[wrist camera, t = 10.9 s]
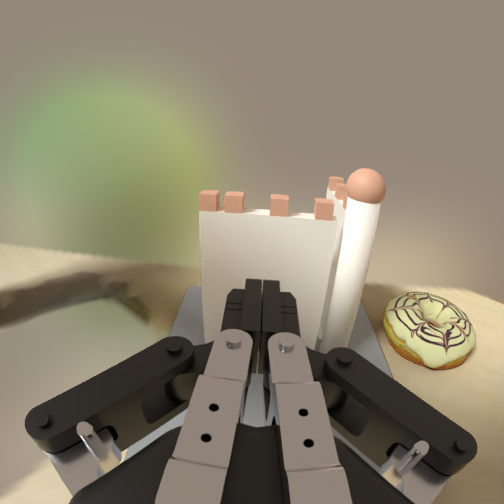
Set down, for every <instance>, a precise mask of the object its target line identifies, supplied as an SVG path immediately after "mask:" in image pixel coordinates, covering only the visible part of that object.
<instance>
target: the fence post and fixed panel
mask: <svg viewBox="0 0 504 504" xmlns="http://www.w3.org/2000/svg"><path fill="white" fill-rule="evenodd" d="M385 193H386V186H385V182H384V180H383V178H382V177H381V176H380V174H379V173H377V172H376V171H374V170H372V169H368V168H363V169H359V170H357V171H355V172H353V173H352V174H351V175H350V177H349V179H348V181H347V184H344V179H343V178H342V177H334V176H330V177H329V187H328V188H327V197H326V199H332V200H333V202H334V212H333V216H336V218H337V221H338V225H337V231H336V238H335V244H334V251H333V257H332V263H331V268H330V274H329V280H328V285H327V291H326V296H325V301H324V306H323V311H322V316H321V325H322V330H323V336H322V341H321V345H320V349H319V352H320V353H324V354H327V353H328V352H329V351H330V350H331V349H333V348H337V347H345V348H347V346H348V343H349V340H350V336H351V333H352V329H353V326H354V322H355V319H356V315H357V311H358V308H359V304H360V300H361V296H362V292H363V288H364V284H365V279H366V275H367V271H368V266H369V262H370V258H371V252H372V248H373V243H374V238H375V233H376V227H377V223H378V217H379V212H380V206H381V202H382V200H383V199H384V196H385Z"/></svg>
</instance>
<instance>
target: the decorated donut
mask: <svg viewBox="0 0 504 504" xmlns="http://www.w3.org/2000/svg"><path fill="white" fill-rule="evenodd" d="M383 324H384V330H385V333H386V336H387V339H388V341H389V343H390V344H391V346H392V347H393V348H394V349H395V351H396V352H398V353H399V354H400V355H401V356H402V357H404V358H405V359H408V360H410V361H412V362H413V363H416V364H421V365H424V366H426V367H431V368H433V369H437V370H439V369H450V368H452V367H455V366H458V365H460V364H461V363H463V362H464V360H465V359H466V358H467V356H468V354H469V352H470V350H471V349H472V348H473V347H474V345H475V343H476V335H475V332H474V329H473V326H472V324H471V323H470V321H469V319H468V317H467V315H466V314H465V313H464V312H462V311H461V310H460V309H459V308H458V307H456V306H455V305H454V304H452V303H451V302H449V301H448V300H446V299H444V298H442V297H439V296H436V295H432V294H429V293H425V292H406V293H403V294H401V295H399V296H397V297H395V298H393V299H392V300H390V301H389V302H388V304H387V307H386V309H385V311H384V318H383Z"/></svg>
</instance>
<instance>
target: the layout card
mask: <svg viewBox="0 0 504 504" xmlns="http://www.w3.org/2000/svg"><path fill="white" fill-rule="evenodd" d="M170 336H181V337H184V338H187V339H188V340H190V341H191V342H192V344H193V346H194V345H202V344H207V343H208V342H205V338H204V323H203V306H202V286H188V289H187V291H186V294H185V296H184V299H183V301H182V303H181V306H180V308H179V311H178V313H177V316H176V318H175V321H174V324H173V326H172V329H171V331H170V334H169V336H168V337H170ZM322 336H323V330H322V325H321V321H320V326H319V331H318V335H317V340H316V344H315V349H314V351H317V352H319V349H320V345H321V341H322ZM347 348H349V349H352V350H354V351H355V352H357V353H358V354H360V355H361V356H362V357H364V358H365V359H366V360H368V361H369V362H370V363H372V364H373V365H375V366H376V367H377V368H379V369H380V370H381V371H383V372H384V373H386V374H387V375H388V376H390V377H391V378H392V375H391V373H390V370H389V367H388V365H387V362H386V359H385V357H384V354H383V352H382V349H381V347H380V344H379V342H378V339H377V337H376V334H375V332H374V329H373V327H372V324H371V322H370V320H369V317H368V315H367V313H366V310H365V308H364V306H363V303H362V301H361V300H360V304H359V308H358V311H357V315H356V319H355V322H354V326H353V329H352V333H351V336H350V340H349V343H348V346H347ZM258 354H259V350H258ZM262 385H263V374H258V360H257V370H256V374H253V373H252V376H251V383H250V385H249V390H248V396H247V402H246V408H245V414H244V420H243V424H246V425H250V426H253V427H263V426H264V412H263V398H262ZM350 397H351V396H350ZM355 401H356V400H355ZM360 405H361V404H360ZM187 409H188V408H187ZM187 409H186V410H184V411H183V412H182V413H180V414H179V415H177V416H176V417H174V418H173V419H171V420H170V421H168V422H167V423H165V424H164V425H162V426H161V427H160V428H158V429H156V430H155V431H153V432H152V433H150V434H149V435H147V436H146V437H144V438H143V439H141V440H140V441H138V442H136V443H135V444H133V445H132V446H130V447H129V448H128V450H127V453H126V456H125V459H124V461H125V460H127V459H128V458H130V457H131V456H133V455H134V454H136V453H137V452H139V451H140V450H141V449H143V448H144V447H146V446H147V445H149V444H150V443H151V442H153V441H154V440H156V439H157V438H158V437H160V436H161V435H162V434H164V433H166V432H167V431H169V430H171V429H174V428H176V427H179V426H182V425H183V422H184V419H185V416H186V412H187ZM365 409H366V408H365ZM331 429H332V433H333V436H335V437H337V438H339V439H340V440H342V441H343V442H345V443H346V444H347V445H348V446H349V447H350V448H351V449H352V450H353V451H355V452H356V453H357V454H358V455H359V456H360V457H361V458H362V459H363V460H364V461H366V462H367V463H368V464H369V465H370V466H371V467H372V468H373V469H375V470H376V471H377V472H378V473H379V474H380V467H379V466H377V465H376V464H375V463H374V462H372V461H371V460H370V459H369V458H368V457H366V456H365V455H364V454H363V453H362V452H360V451H359V450H358V449H357V448H356V447H354V446H353V445H352V444H351V443H350V442H349V441H347V440H346V439H345V438H344V437H343V436H342V435H341V434H339V433H338V432H337V431H336V430H335V429H334V428H333V427H331Z"/></svg>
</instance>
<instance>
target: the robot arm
mask: <svg viewBox="0 0 504 504" xmlns="http://www.w3.org/2000/svg"><path fill="white" fill-rule="evenodd" d="M261 297H262V298H261ZM258 350H259V354H258ZM257 360H258V374H263V385H262V398H263V412H264V426H263V427H253V426H250V425H246V424H243V420H244V414H245V408H246V402H247V396H248V390H249V385H250V383H251V376H252V373H253V374H256V370H257ZM350 396H351V397H350ZM355 400H356V401H355ZM360 404H361V405H360ZM187 408H188V409H187ZM365 408H366V409H365ZM186 409H187V412H186V416H185V419H184V422H183V425H182V426H179V427H176V428H174V429H171V430H169V431H167V432H166V433H164V434H162V435H161V436H160V437H158V438H157V439H156V440H154V441H153V442H151V443H150V444H149V445H147V446H146V447H144V448H143V449H141V450H140V451H139V452H137V453H136V454H134V455H133V456H131V457H130V458H128V459H127V460H125V461H124V462H122V463H121V464H119V463H120V461H121V452H122V451H124V450H125V449H127V448H129V447H130V446H132V445H133V444H135V443H136V442H138V441H140V440H141V439H143V438H144V437H146V436H147V435H149V434H150V433H152V432H153V431H155V430H156V429H158V428H160V427H161V426H162V425H164V424H165V423H167V422H168V421H170V420H171V419H173V418H174V417H176V416H177V415H179V414H180V413H182V412H183V411H184V410H186ZM331 427H333V428H334V429H335V430H336V431H337V432H338V433H339V434H341V435H342V436H343V437H344V438H345V439H346V440H347V441H349V442H350V443H351V444H352V445H353V446H354V447H356V448H357V449H358V450H359V451H360V452H362V453H363V454H364V455H365V456H366V457H368V458H369V459H370V460H371V461H372V462H374V463H375V464H376V465H377V466H379V467H380V474H379V473H378V472H377V471H376V470H375V469H373V468H372V467H371V466H370V465H369V464H368V463H367V462H366V461H364V460H363V459H362V458H361V457H360V456H359V455H358V454H357V453H356V452H355V451H353V450H352V449H351V448H350V447H349V446H348V445H347V444H346V443H345V442H343V441H342V440H340V439H339V438H337V437H335V436H333V433H332V429H331ZM25 428H26V430H27V432H28V434H29V435H30V436H31V437H32V438H33V440H34V441H35V442H36V443H37V445H38V447H39V448H40V449H41V450H42V451H43V452H44V453H45V454H46V456H47V457H48V458H49V459H50V460H51V462H52V464H53V465H54V467H55V469H56V470H57V472H58V474H59V475H60V477H61V479H62V480H63V482H64V483H65V485H66V486H67V488H68V490H69V491H70V493H71V494H72V496H73V498H72V499H71V501H70V503H69V504H432V502H433V501H434V500H435V498H436V497H437V496H438V494H439V493H440V492H441V490H442V489H443V487H444V486H445V485H446V483H447V482H448V480H449V479H450V478H452V477H453V476H454V475H455V474H456V473H458V472H459V471H460V470H461V469H462V468H463V467H465V466H466V465H467V464H468V463H469V462H470V461H471V460H472V459H473V458H474V457H475V455H476V453H477V443H476V441H475V439H474V437H473V436H472V435H471V434H470V433H469V432H467V431H466V430H464V429H463V428H461V427H460V426H459V425H457V424H456V423H454V422H453V421H451V420H450V419H449V418H447V417H446V416H444V415H443V414H441V413H440V412H439V411H437V410H436V409H434V408H433V407H432V406H430V405H429V404H427V403H426V402H425V401H423V400H422V399H420V398H419V397H418V396H416V395H415V394H413V393H412V392H411V391H409V390H408V389H406V388H405V387H404V386H402V385H401V384H399V383H398V382H397V381H395V380H394V379H393V378H391V377H390V376H388V375H387V374H386V373H384V372H383V371H381V370H380V369H379V368H377V367H376V366H375V365H373V364H372V363H370V362H369V361H368V360H366V359H365V358H364V357H362V356H361V355H360V354H358V353H357V352H355V351H354V350H352V349H349V348H345V347H337V348H333V349H331V350H330V351H329V352H328V353H327V354H324V353H320V352H317V351H314V350H312V349H310V348H308V347H307V346H306V345H305V342H304V341H303V339H302V338H301V336H300V328H299V319H298V311H297V304H296V299H295V297H294V296H293V295H292V294H291V292H280V281H279V280H264V279H263V287H262V279H249V278H246V282H245V289H235V288H233V289H232V290H231V291H230V292H229V293H228V295H227V299H226V304H225V310H224V315H223V320H222V326H221V331H220V333H219V334H217V336H216V337H215V340H213V341H212V342H209V343H207V344H202V345H194V346H193V344H192V342H191V341H190V340H188V339H187V338H184V337H181V336H170V337H166V338H164V339H162V340H160V341H159V342H157V343H155V344H153V345H151V346H150V347H148V348H146V349H144V350H142V351H140V352H139V353H137V354H135V355H133V356H131V357H130V358H128V359H126V360H124V361H122V362H120V363H119V364H117V365H115V366H113V367H111V368H109V369H107V370H106V371H104V372H102V373H100V374H98V375H96V376H94V377H92V378H90V379H89V380H87V381H85V382H83V383H81V384H79V385H77V386H75V387H74V388H71V389H70V390H68V391H66V392H64V393H62V394H60V395H58V396H56V397H54V398H52V399H50V400H48V401H46V402H44V403H42V404H40V405H38V406H36V407H35V408H33V409H32V410H31V411H30V412H29V413H28V414H27V416H26V419H25Z"/></svg>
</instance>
